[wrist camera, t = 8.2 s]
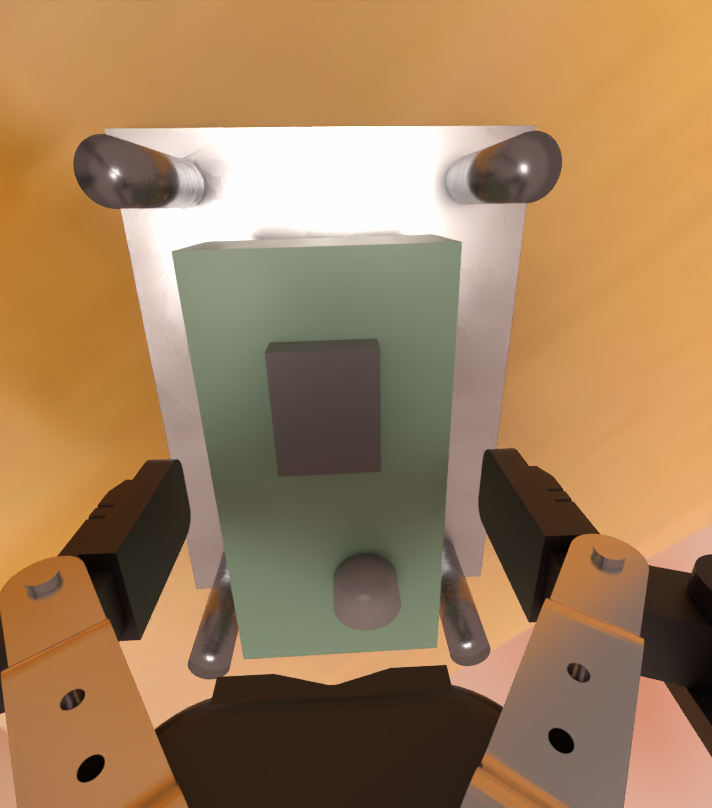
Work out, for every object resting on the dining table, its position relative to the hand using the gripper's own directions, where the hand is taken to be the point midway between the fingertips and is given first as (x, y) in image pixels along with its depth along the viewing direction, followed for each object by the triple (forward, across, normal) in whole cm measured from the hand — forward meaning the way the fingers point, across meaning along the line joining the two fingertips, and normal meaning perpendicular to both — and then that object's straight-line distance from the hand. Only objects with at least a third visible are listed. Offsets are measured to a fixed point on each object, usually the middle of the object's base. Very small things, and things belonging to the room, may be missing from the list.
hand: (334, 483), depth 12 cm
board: (+3, 0, 0) cm, 3 cm away
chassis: (+7, 0, 0) cm, 7 cm away
